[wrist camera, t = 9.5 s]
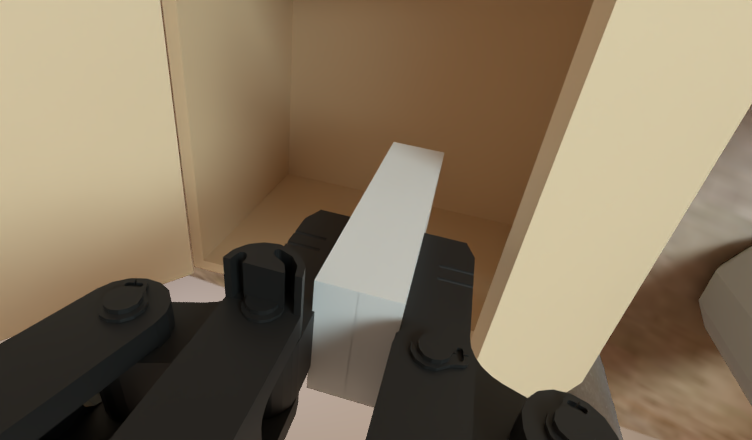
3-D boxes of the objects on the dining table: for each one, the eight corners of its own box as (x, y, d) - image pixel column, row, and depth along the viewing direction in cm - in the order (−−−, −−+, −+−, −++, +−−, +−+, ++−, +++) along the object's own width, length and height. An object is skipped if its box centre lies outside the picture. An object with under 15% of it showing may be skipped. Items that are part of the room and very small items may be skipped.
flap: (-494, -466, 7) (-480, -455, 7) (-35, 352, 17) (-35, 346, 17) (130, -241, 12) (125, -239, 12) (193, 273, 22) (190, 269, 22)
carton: (688, -93, 20) (886, -153, 10) (549, 235, 30) (579, 369, 20) (291, -145, 23) (132, -236, 13) (285, 174, 33) (194, 266, 23)
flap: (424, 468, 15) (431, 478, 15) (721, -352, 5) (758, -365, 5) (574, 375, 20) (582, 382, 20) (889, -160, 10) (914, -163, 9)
